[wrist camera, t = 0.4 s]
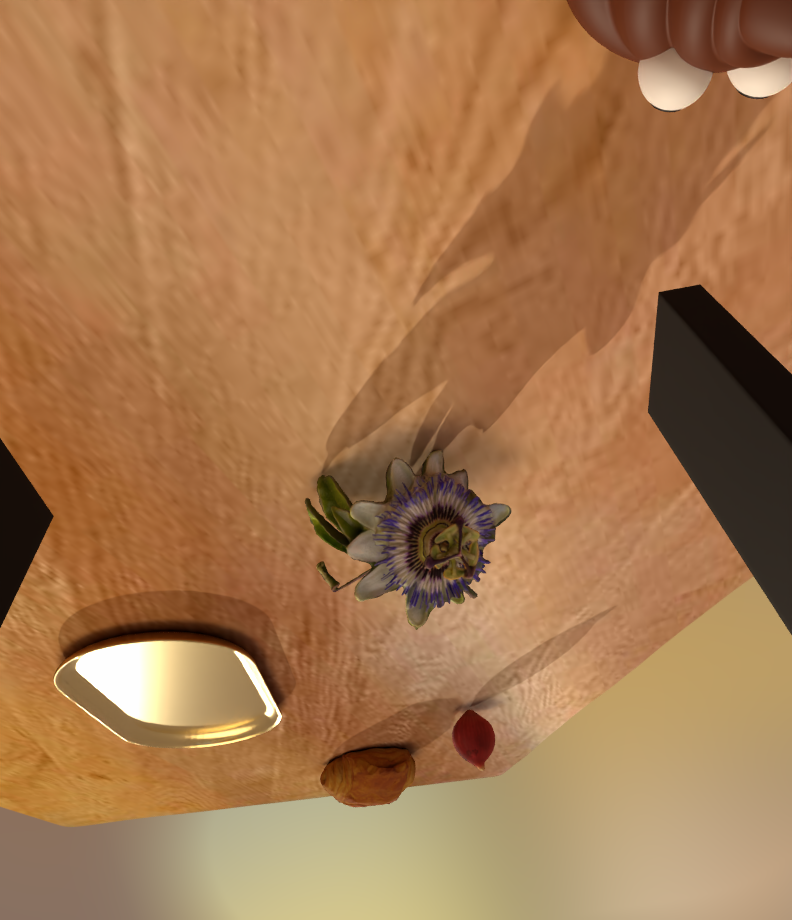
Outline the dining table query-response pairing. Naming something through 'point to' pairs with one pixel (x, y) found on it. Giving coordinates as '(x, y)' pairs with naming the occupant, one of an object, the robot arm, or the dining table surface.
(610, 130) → the dining table surface
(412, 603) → the passion flower
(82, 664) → the serving platter
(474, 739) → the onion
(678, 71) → the poop emoji
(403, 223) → the dining table surface
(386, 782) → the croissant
